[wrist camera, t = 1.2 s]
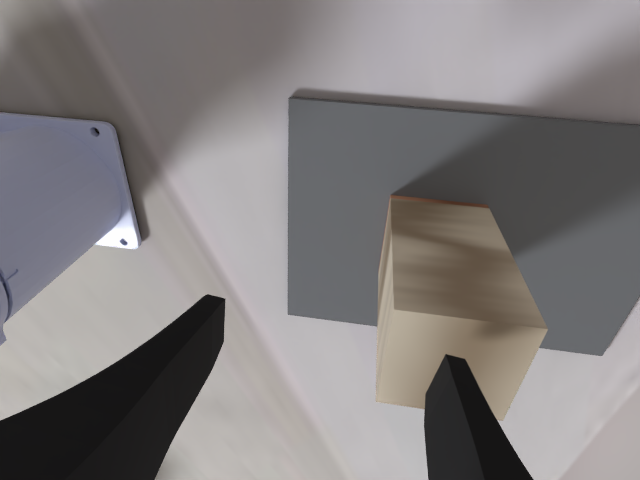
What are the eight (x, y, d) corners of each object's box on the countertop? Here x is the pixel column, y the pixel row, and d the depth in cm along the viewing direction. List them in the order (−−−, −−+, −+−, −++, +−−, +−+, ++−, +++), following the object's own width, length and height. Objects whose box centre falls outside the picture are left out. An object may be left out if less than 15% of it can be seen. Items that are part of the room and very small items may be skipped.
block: (378, 270, 24) (375, 402, 16) (390, 194, 21) (393, 309, 13) (464, 280, 23) (502, 420, 16) (487, 204, 20) (548, 329, 13)
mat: (288, 310, 27) (287, 314, 26) (290, 96, 19) (288, 98, 19) (599, 351, 25) (602, 356, 25) (733, 132, 18) (740, 135, 17)
